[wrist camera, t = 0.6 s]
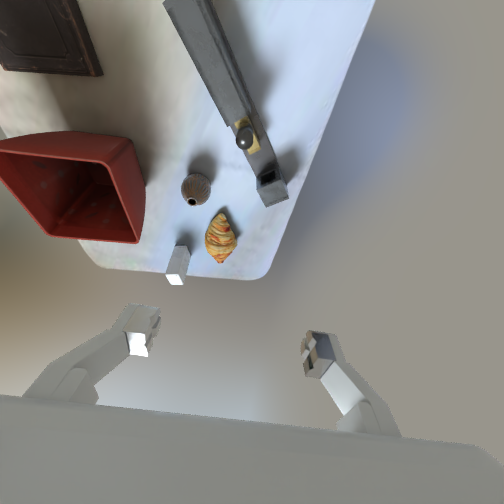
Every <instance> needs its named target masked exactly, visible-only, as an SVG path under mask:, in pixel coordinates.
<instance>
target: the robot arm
mask: <svg viewBox="0 0 504 504" xmlns="http://www.w3.org/2000/svg"><path fill="white" fill-rule="evenodd" d="M159 315H160V308H156V307H151V306H145V305H140V304H133V303H129V304H128V305H127V306H126V308H125V309H124V310H123V312H122V313H121V315H120V316H119V317H118V319H117V320H116V322H115V323H114V325H113V326H112V328H111V329H110V330H105V331H103V332H102V333H100V334H98V335H97V336H95V337H93V338H92V339H90V340H88V341H87V342H85V343H83V344H81V345H80V346H78V347H76V348H75V349H73V350H71V351H70V352H68V353H66V354H65V355H63V356H61V357H59V358H58V359H56V360H55V361H53V362H51V363H50V364H49V365H48V366H47V367H46V368H45V369H44V371H43V372H42V373H41V374H40V375H39V377H38V378H37V379H36V380H35V381H34V383H33V384H32V385H31V386H30V387H29V389H28V390H27V391H26V392H25V393H24V394H23V396H22V397H19V396H9V395H0V504H504V466H503V465H502V464H501V463H500V462H499V461H498V460H497V459H496V458H494V457H493V456H492V455H491V454H490V453H488V452H487V451H486V450H485V449H483V448H481V447H479V446H475V445H471V444H461V443H452V442H443V441H433V440H424V439H414V438H405V437H402V436H401V434H400V431H399V429H398V427H397V425H396V422H395V420H394V418H393V416H392V414H391V411H390V409H389V407H388V405H387V403H386V402H385V401H384V400H383V399H382V398H381V397H380V396H379V395H378V394H377V393H376V392H375V391H374V389H373V388H372V387H371V386H370V385H369V384H368V383H367V382H366V381H365V380H364V379H363V377H361V375H360V374H359V373H358V372H357V371H356V370H355V369H354V368H353V367H352V366H351V365H350V363H346V360H345V357H344V354H343V352H342V349H341V346H340V344H339V341H338V338H337V336H336V335H335V334H331V333H325V332H318V331H311V330H309V331H307V333H306V338H304V339H303V340H302V342H301V355H302V357H303V358H304V359H305V361H304V363H303V367H304V372H305V376H306V377H313V378H319V379H320V380H321V381H322V383H323V385H324V386H325V388H326V389H327V391H328V392H329V394H330V395H331V397H332V398H333V400H334V401H335V403H336V404H337V406H338V408H339V409H340V411H341V412H342V414H343V415H344V416H343V417H342V418H341V419H340V420H339V421H338V422H337V423H336V425H337V429H338V430H329V429H320V428H311V427H301V426H292V425H283V424H273V423H263V422H254V421H245V420H236V419H226V418H217V417H208V416H198V415H189V414H179V413H170V412H160V411H151V410H142V409H131V408H123V407H112V406H104V405H95V404H96V402H97V400H98V394H97V392H96V390H95V387H94V385H95V384H96V383H97V382H98V381H100V380H101V379H102V378H103V377H104V376H106V375H107V374H108V373H109V372H110V371H112V370H113V369H114V368H115V367H116V366H117V365H119V364H120V363H121V362H122V361H123V360H124V359H126V358H127V357H128V356H129V354H134V355H145V356H148V353H149V351H150V349H151V347H152V345H153V338H154V337H155V336H157V334H158V331H159V328H160V324H161V318H160V316H159Z"/></svg>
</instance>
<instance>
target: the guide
mask: <svg viewBox="0 0 504 504" xmlns="http://www.w3.org/2000/svg"><path fill="white" fill-rule="evenodd" d="M163 5H164V7H165V9H166V11H167V13H168V15H169V16H170V18H171V20H172V22H173V24H174V26H175V28H176V30H177V32H178V34H179V36H180V37H181V39H182V41H183V43H184V45H185V47H186V49H187V51H188V53H189V55H190V57H191V59H192V60H193V62H194V64H195V66H196V68H197V70H198V72H199V74H200V76H201V78H202V80H203V81H204V83H205V85H206V87H207V89H208V91H209V93H210V95H211V97H212V99H213V101H214V103H215V104H216V106H217V108H218V110H219V112H220V114H221V116H222V118H223V120H224V122H225V124H226V125H227V127H228V126H230V127H231V129H232V131H233V133H234V135H235V136H236V134H237V128H236V126H235V124H234V123H235V122H237V121H238V120H240V119H242V118H244V117H245V116H247V115H248V117H249V119H250V121H251V124H252V126H253V128H254V130H255V133H256V135H257V137H258V140H259V142H260V144H261V149H260V150H258V151H256V152H254V153H252V154H250V155H249V153H248V150H243V149H242V150H243V152H244V154H245V156H246V158H247V160H248V162H249V164H250V166H251V168H252V170H253V172H254V174H255V176H256V182H257V192H258V193H259V195H260V197H261V199H262V201H263V203H264V205H265V206H266V207H269V206H271V205H274V204H276V203H279V202H282V201H284V200H287V199H289V195H288V190H287V185H286V182H285V180H284V178H283V175H282V173H281V170H280V168H279V165H278V163H277V160H276V158H275V156H274V153H273V151H272V148H271V146H270V143H269V141H268V138H267V136H266V134H265V131H264V129H263V126H262V124H261V121H260V119H259V116H258V114H257V112H256V109H255V107H254V104H253V102H252V99H251V97H250V94H249V92H248V90H247V87H246V85H245V82H244V80H243V77H242V75H241V72H240V70H239V68H238V65H237V63H236V60H235V58H234V55H233V53H232V50H231V48H230V46H229V43H228V41H227V38H226V36H225V33H224V31H223V28H222V26H221V24H220V21H219V19H218V16H217V14H216V11H215V9H214V6H213V4H212V2H211V0H165V1H164V2H163Z"/></svg>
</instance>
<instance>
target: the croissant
mask: <svg viewBox="0 0 504 504" xmlns="http://www.w3.org/2000/svg"><path fill="white" fill-rule="evenodd" d="M205 246H206V249H207V251H208V253H209V254H210V255H212V257H214V259H215V260H216V261H217V262H218V263H223V261H224V260H225V259H226V258H227V257H228V256H229V255H230V254H231V253H232V251H233V250H234V249H235V247H236V246H237V240H236V239H235V235H234V233H233V232H232V230H231V229H230V225H229V224H228V222H227V218H226V216H225V215H224V214H223V213H220V214H218V215H217V216H216V217H215V219H213V220H212V222H211V223H210V225H209V227H208V231H206V233H205Z"/></svg>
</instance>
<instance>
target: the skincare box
mask: <svg viewBox="0 0 504 504" xmlns="http://www.w3.org/2000/svg"><path fill="white" fill-rule="evenodd" d="M190 258H191V256H190V253H189V251H188V248H187V246H175V247H174V250H173V253H172V256H171V258H170V261H169V264H168V267H167V270H166V273H165V275H166V277H167V278H168V280H169V282H170V283H171V284H172V285H182V284H184V280H185V276H186V273H187V269H188V265H189V262H190Z"/></svg>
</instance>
